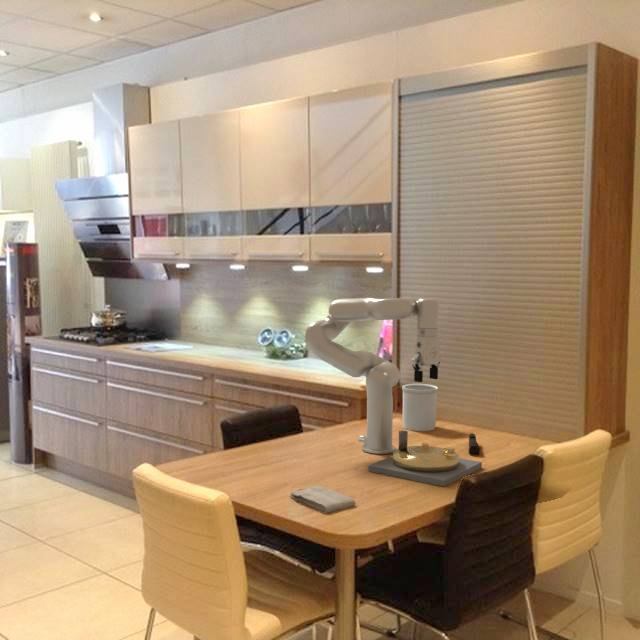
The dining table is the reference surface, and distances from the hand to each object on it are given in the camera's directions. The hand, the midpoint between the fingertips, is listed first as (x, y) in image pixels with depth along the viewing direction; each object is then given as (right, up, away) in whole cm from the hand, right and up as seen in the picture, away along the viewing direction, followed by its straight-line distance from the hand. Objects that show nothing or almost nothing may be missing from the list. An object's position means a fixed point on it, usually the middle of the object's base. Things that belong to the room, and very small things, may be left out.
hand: (426, 380), depth 277 cm
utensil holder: (+4, -24, +47) cm, 53 cm away
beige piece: (-2, -27, -16) cm, 31 cm away
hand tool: (+19, -27, +12) cm, 35 cm away
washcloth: (-38, -32, -52) cm, 72 cm away
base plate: (-2, -29, -16) cm, 33 cm away
